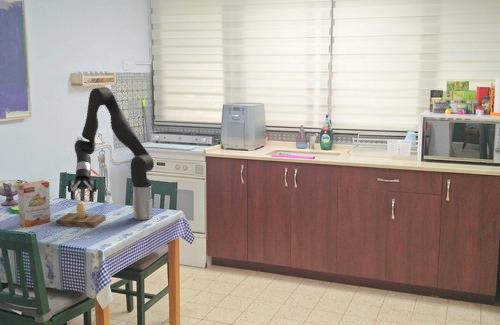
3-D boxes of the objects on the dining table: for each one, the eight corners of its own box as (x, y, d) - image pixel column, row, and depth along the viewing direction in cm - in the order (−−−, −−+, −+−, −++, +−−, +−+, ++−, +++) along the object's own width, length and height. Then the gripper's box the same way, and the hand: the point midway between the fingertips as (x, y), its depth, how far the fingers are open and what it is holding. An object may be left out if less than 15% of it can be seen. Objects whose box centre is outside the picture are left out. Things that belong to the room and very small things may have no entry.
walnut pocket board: (105, 219, 285) (105, 215, 284) (94, 227, 271) (94, 222, 271) (69, 217, 288) (68, 212, 287) (55, 224, 274) (55, 220, 274)
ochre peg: (86, 221, 281) (86, 202, 279) (83, 223, 277) (82, 204, 275) (79, 221, 282) (78, 202, 280) (75, 223, 278) (75, 203, 276)
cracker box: (25, 227, 268) (23, 185, 265) (18, 225, 272) (16, 183, 268) (51, 221, 279) (49, 181, 276) (44, 219, 283) (42, 179, 279)
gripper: (68, 168, 288) (66, 194, 279) (96, 167, 291) (95, 194, 282) (69, 176, 294) (68, 202, 285) (97, 175, 297) (96, 201, 288)
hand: (81, 198), depth 283 cm, fingers open, 8 cm apart
